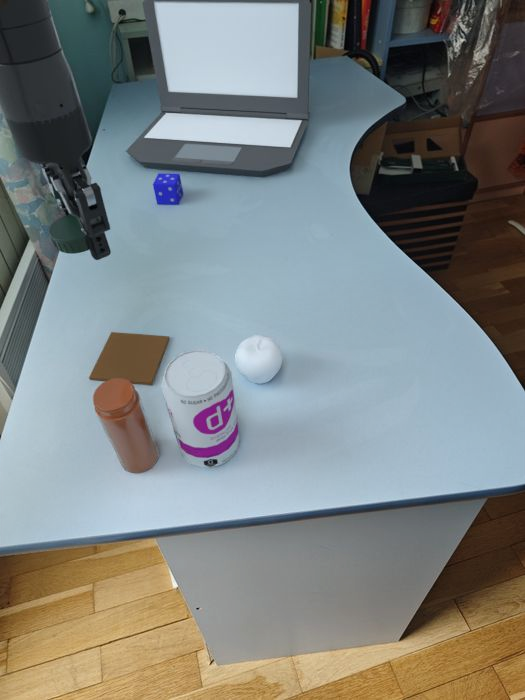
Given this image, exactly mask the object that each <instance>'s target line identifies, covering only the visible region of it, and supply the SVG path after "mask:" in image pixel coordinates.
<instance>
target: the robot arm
mask: <svg viewBox="0 0 525 700" xmlns="http://www.w3.org/2000/svg"><path fill="white" fill-rule="evenodd" d="M0 109H1V112H2V114H3V117H4V119H5V122H6V124H7V127H8V128H9V131H10V133H11V136H12V139H13V140H14V143H15V145H16V148H17V150H18V152H19V155H20V156H21V157H22V158H23V159H24V160H26V162H30V163H32V164H38V166H39V168H40V170H41V171H40V172H41V173H42V175H43V177H44V180H45V182H46V185H47V187H48V189H49V191H50V195H51V197H52V198H53V199H54V200H56V202H57V203H56V204H57V206H58V207H59V208H60V209H61V210H62V211H63V216H65V215H68V214H70V215H72V216H75V217H76V219H77V221H78V223H79V225H80V227H81V231H82V233H84V236H85V238H86V241H87V244H88V247H89V250H88V251H89V253H90V255H91V257H92V258H93V259H94V261H100V260H102V259H104V258H107V257H109V256H110V255H111V252H112V251H111V247H110V245H109V242H108V238H107V234H106V232H107V231H110V230H111V224H110V222H109V217H108V214H107V211H106V206H105V202H104V198H103V195H102V191H101V187H100V185H99V184H98V183H97V182H93V183H92V176H91V174H90V172H89V169H88V167H87V166H86V165H85V164H82V162H81V157H82V156H83V155H84V154H85V153H86V152H88V150H89V149H90V148H91V147H92V143H93V138H92V134H91V132H90V131H91V130H90V128H89V124H88V121H87V118H86V114H85V111H84V109H83V105H82V101H81V97H80V95H79V91H78V87H77V84H76V81H75V77H74V75H73V71H72V69H71V66H70V64H69V62H68V60H67V57H66V55H65V53H64V49H63V47H62V44H61V40H60V37H59V34H58V30H57V27H56V23H55V20H54V17H53V14H52V10H51V7H50V4H49V0H0ZM94 218H95V219H96V220H93V221H91V220H92V219H94ZM90 221H91V222H90Z"/></svg>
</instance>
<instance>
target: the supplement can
mask: <svg viewBox="0 0 525 700" xmlns="http://www.w3.org/2000/svg"><path fill="white" fill-rule="evenodd" d="M160 388H161V389H160V390H161V392H162V396H163V398H164V402H165V405H166V409H167V412H168V416H169V418H170V423H171V425H172V428H173V432H174V435H175V438H176V442H177V445H178V448H179V451H180V454H181V456H182V457H183V458H184V459H185V461H187V462H188V463H189V464H191V465H193V466H195V467H198V468H209V469H210V468H214V467H218V466H221V465H224V464H225V463H226V462H228V461H230V460H231V459H232V458H233V456H234V455H235V454H236V453H237V452H238V449H239V446H240V443H241V440H240V429H239V422H238V420H239V419H238V413H237V406H236V405H237V404H236V398H235V391H234V383H233V374H232V371H231V370H230V367H229V366H228V364H227V363H226V362H225V361H224V360H223V359H222V358H221V357H220V356H219V355H217V354H216V353H215V352H214V351H210V350H207V349H191V350H187V351H184V352H182V353H180V354H177V355H176V356H175V357H173V358H172V359H171V360H170V361H169V362H168V364H167V365H166V367H165V369H164V374H163V376H162V378H161V387H160Z"/></svg>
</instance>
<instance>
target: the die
mask: <svg viewBox="0 0 525 700" xmlns="http://www.w3.org/2000/svg"><path fill="white" fill-rule="evenodd" d="M152 187H153V191H154V195H155V200H156V205H172V206H173V205H174V206H175V205H177V206H178V205H179V204H180V202H181V200H182V197H183V194H184V192H183V191H184V190H183V185H182V180H181V174H180V173H166V172H165V173H159V172H158V173H157V175H156V177H155V179H154V180H153V183H152Z"/></svg>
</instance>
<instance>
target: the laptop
mask: <svg viewBox="0 0 525 700" xmlns="http://www.w3.org/2000/svg"><path fill="white" fill-rule="evenodd" d="M141 5H142V9H143V14H144V20H145V25H146V31H147V37H148V42H149V47H150V53H151V58H152V64H153V69H154V76H155V80H156V86H157V91H158V97H159V98H158V99H159V103H160V108H159V109H160V114H158V115H157V117H155V118H154V120H153V121H152V122H151V123H149V125H148V126H147V127H146V128H145V130H144V131H143V132H142V133H141V134H140V135H139V136H138V137H137V138H136V139H135V141H133V142H132V143H131V145H130V146H129V147H128V148H127V149H126V150H125V153H127V154H128V155H129V156H130V157H131V158H133V159H134V161H136V162H137V163H138V164H140V165H141V167H143V168H145V169H155V170H156V169H157V170H169V171H182V172H192V173H193V172H194V173H205V174H206V173H209V174H210V173H211V174H219V175H231V176H232V175H233V176H246V177H258V178H265V177H269V176H272V175H275V174H279V173H282V172H285V171H286V170H287V169H288V168H289V167H290V165H291V164H292V162H293V160H294V157H295V154H296V152H297V149H298V147H299V145H300V143H301V140H302V138H303V135H304V133H305V130H306V128H307V126H308V122H309V121H310V112H309V104H310V99H309V98H310V69H311V38H312V37H311V35H312V34H311V33H312V8H313V7H312V2H311V1H310V0H143V1H142V3H141Z"/></svg>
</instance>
